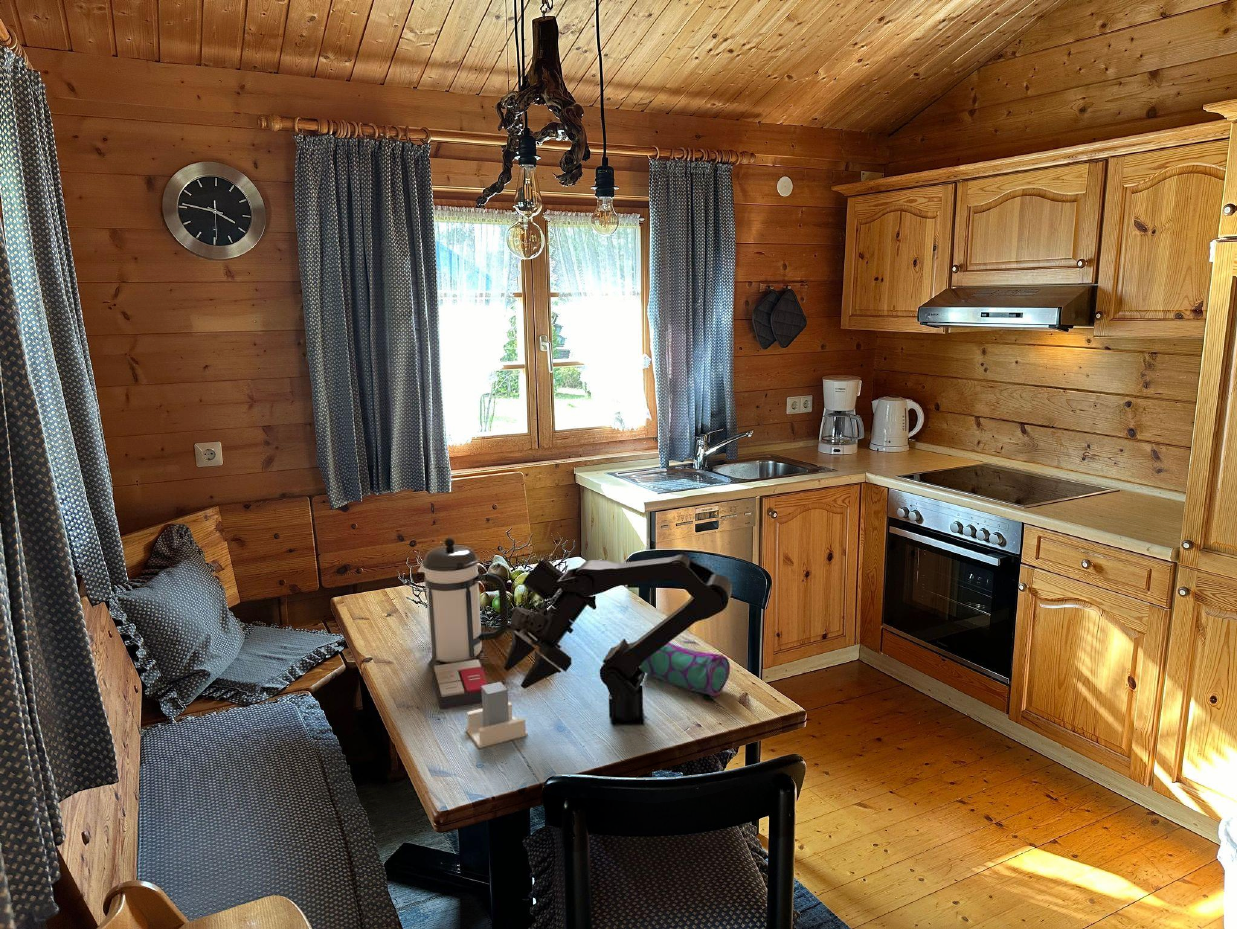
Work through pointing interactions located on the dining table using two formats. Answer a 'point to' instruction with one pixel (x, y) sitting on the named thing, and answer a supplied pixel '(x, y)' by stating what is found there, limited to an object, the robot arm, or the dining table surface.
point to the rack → (494, 729)
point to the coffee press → (457, 603)
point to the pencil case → (689, 669)
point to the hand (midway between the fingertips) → (513, 678)
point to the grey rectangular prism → (494, 704)
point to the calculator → (459, 683)
